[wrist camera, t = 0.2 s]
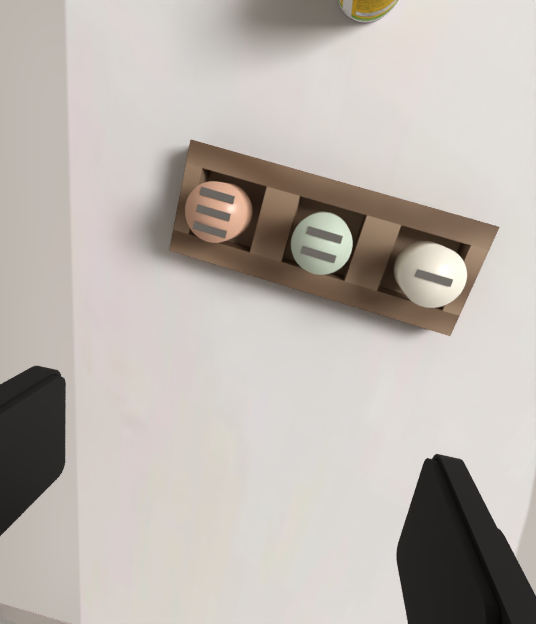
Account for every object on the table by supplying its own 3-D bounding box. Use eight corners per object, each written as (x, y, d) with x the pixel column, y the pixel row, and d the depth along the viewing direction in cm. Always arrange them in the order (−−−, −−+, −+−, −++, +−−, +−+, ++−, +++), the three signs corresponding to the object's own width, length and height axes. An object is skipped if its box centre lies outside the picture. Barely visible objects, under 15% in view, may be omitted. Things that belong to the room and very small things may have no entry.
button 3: (206, 176, 35) (191, 174, 31) (258, 191, 35) (249, 190, 31) (195, 229, 36) (179, 233, 33) (245, 244, 36) (234, 250, 32)
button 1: (405, 234, 34) (415, 238, 30) (461, 250, 33) (478, 257, 29) (385, 286, 35) (392, 297, 31) (438, 302, 35) (452, 315, 31)
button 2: (304, 204, 34) (300, 205, 30) (358, 220, 34) (361, 223, 30) (289, 257, 36) (283, 265, 32) (340, 273, 35) (341, 282, 32)
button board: (201, 143, 37) (190, 139, 34) (485, 224, 35) (499, 226, 32) (180, 246, 40) (169, 250, 37) (441, 325, 38) (450, 336, 36)
